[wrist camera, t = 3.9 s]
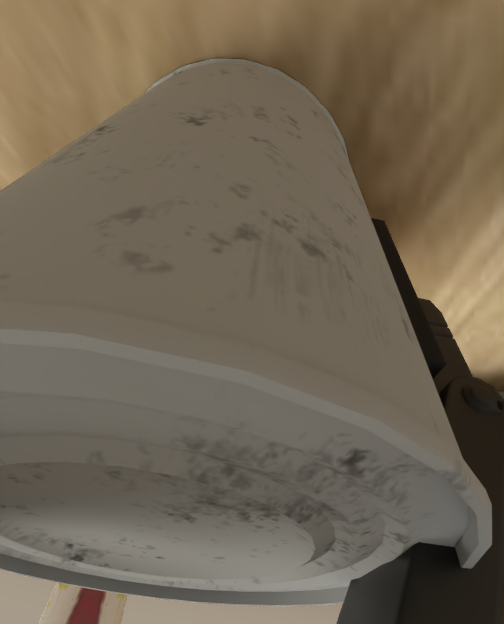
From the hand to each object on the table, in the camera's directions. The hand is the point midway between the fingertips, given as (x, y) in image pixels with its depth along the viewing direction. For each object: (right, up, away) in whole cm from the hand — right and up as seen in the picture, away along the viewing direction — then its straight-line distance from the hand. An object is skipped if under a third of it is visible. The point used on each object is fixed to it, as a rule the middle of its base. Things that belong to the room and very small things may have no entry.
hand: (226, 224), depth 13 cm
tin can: (0, +2, +2) cm, 2 cm away
